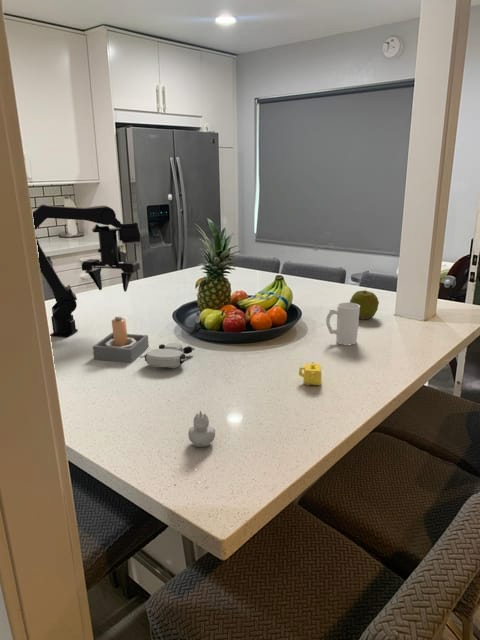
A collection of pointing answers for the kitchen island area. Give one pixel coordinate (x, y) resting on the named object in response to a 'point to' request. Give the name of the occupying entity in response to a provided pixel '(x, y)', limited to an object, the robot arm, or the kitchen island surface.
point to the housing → (121, 348)
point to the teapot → (311, 374)
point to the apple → (365, 303)
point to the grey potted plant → (201, 431)
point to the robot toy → (167, 355)
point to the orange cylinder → (119, 331)
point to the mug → (345, 322)
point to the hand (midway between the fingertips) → (113, 290)
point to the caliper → (198, 317)
